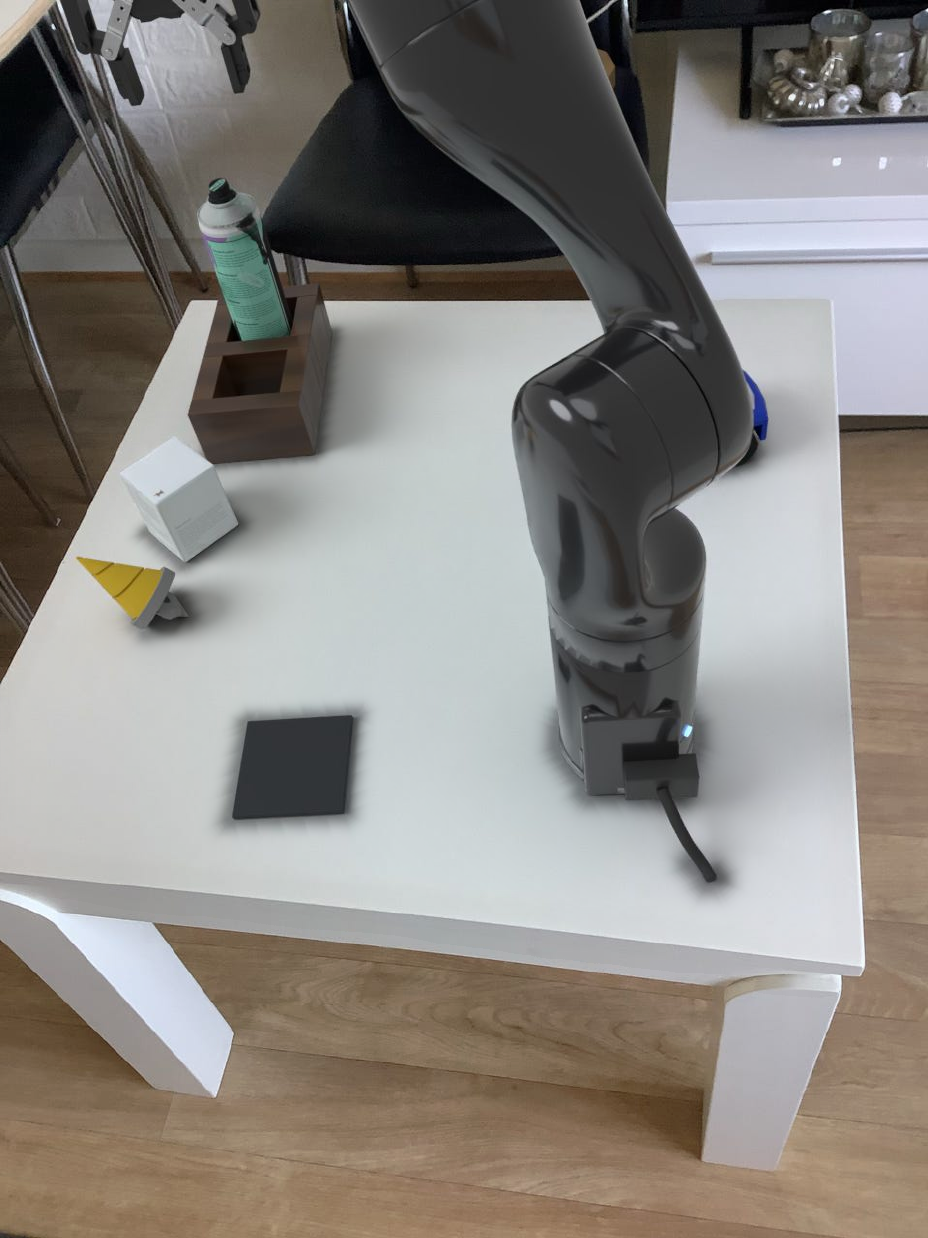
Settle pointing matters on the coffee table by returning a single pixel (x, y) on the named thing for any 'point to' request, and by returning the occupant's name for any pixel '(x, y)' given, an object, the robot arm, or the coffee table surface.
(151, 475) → the product box
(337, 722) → the tool mat
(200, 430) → the can holder
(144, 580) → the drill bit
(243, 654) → the coffee table surface
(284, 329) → the spray can
